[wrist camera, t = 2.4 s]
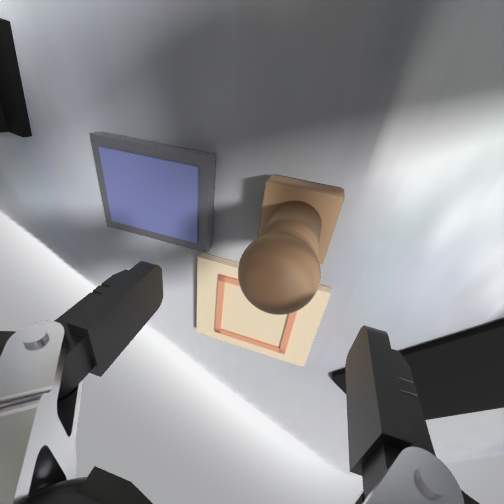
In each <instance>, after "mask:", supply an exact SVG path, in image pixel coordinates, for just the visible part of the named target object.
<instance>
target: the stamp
mask: <svg viewBox="0 0 504 504" xmlns="http://www.w3.org/2000/svg"><path fill="white" fill-rule="evenodd" d="M343 200H344V189H342V188H340V187H335V186H330V185H325V184H320V183H315V182H310V181H305V180H300V179H296V178H291V177H286V176H281V175H276V174H275V175H271V176H270V177H269V179H268V180H267V181H266V185H265V191H264V198H263V205H262V211H261V218H260V224H259V231H258V237H257V239H256V240H254V241H253V242H252V243H251V244H250V245H249V246H248V247H247V248H246V250H245V251H244V253H243V254H242V257H241V259H240V262H239V267H238V280H239V284H240V287H241V290H242V292H243V294H244V296H245V297H246V298H247V300H248V301H249V302H250V303H251V304H252V305H253V306H255V307H256V308H258V309H259V310H261V311H263V312H266V313H269V314H275V315H285V314H290V313H293V312H296V311H298V310H300V309H301V308H303V307H304V306H306V305H307V304H308V303H309V302H310V301H311V300H312V298H313V297H314V295H315V294H316V292H317V289H318V287H319V283H320V276H321V271H320V265H319V263H321V264H323V262H324V259H325V256H326V253H327V250H328V246H329V243H330V240H331V237H332V234H333V231H334V228H335V225H336V222H337V219H338V216H339V213H340V209H341V206H342V203H343Z"/></svg>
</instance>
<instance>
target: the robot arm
mask: <svg viewBox="0 0 504 504" xmlns="http://www.w3.org/2000/svg"><path fill="white" fill-rule="evenodd" d="M162 299H163V282H162V269H161V267H160V266H158V265H154V264H151V263H147V262H144V261H141V262H139V263H138V264H136V265H135V266H134V267H133V268H132V269H130V270H124V271H121V272H119V273H117V274H114V275H112V276H111V277H110V278H108V279H107V280H106V281H105V282H103V283H102V285H101V286H98V287H97V288H96V289H94V290H93V292H92V293H89V294H88V295H87V296H86V297H84V298H83V299H82V300H80V301H79V302H78V303H77V304H75V305H74V306H73V307H72V308H70V309H69V310H68V311H67V312H65V313H64V314H63V315H61V316H60V317H59V318H58V319H56V320H55V321H40V322H36V323H32V324H30V325H27V326H25V327H23V328H21V329H20V330H18V331H17V332H13V331H0V504H152V502H150V500H148V498H147V497H146V496H145V495H144V494H143V493H142V492H141V491H139V490H138V489H137V488H136V487H135V486H134V485H133V484H132V483H131V482H130V481H127V480H125V479H123V478H121V477H118V476H116V475H114V474H111V473H109V472H107V471H105V470H102V469H100V468H97V467H94V468H93V470H92V471H91V473H90V474H89V476H88V477H83V478H76V475H77V455H76V433H77V425H78V418H79V410H80V402H81V394H82V386H83V382H82V380H83V379H84V378H85V376H86V375H87V374H88V373H92V374H94V375H97V376H100V377H101V376H102V374H104V372H105V371H106V370H107V369H108V368H109V366H110V365H111V364H112V363H113V362H114V360H115V359H116V358H117V357H118V356H119V355H120V353H121V352H122V351H123V350H124V349H125V348H126V346H127V345H128V344H129V343H130V341H131V340H132V339H133V338H134V337H135V336H136V334H137V333H138V332H139V331H140V330H141V329H142V327H143V326H144V325H145V324H146V323H147V321H148V320H149V319H150V318H151V317H152V316H153V314H154V313H155V312H156V311H157V310H158V308H159V307H160V305H161V302H162ZM345 372H346V394H347V417H348V440H349V463H350V472H353V473H356V474H358V475H361V476H363V489H364V490H363V491H362V492H361V493H360V494H359V496H358V497H357V499H356V500H355V502H354V503H353V504H479V503H478V502H476V501H475V500H474V499H472V498H471V497H469V496H468V495H467V494H465V493H464V492H463V491H462V490H461V489H460V487H459V484H458V483H457V481H456V479H455V477H454V476H453V475H452V473H451V472H450V471H449V469H448V468H447V467H446V466H445V465H444V463H443V462H442V461H441V460H439V459H438V458H437V457H436V455H435V452H434V449H433V446H432V442H431V439H430V435H429V432H428V428H427V425H426V421H425V418H424V414H423V411H422V407H421V404H420V400H419V398H418V397H417V395H418V393H417V390H416V386H415V385H414V379H413V376H412V372H411V369H410V366H409V364H408V363H407V362H406V360H405V359H404V357H403V356H402V354H401V353H400V351H396V350H393V349H391V346H390V341H389V337H388V334H387V333H386V332H385V331H381V330H378V329H374V328H371V327H367V326H363V327H362V328H361V329H360V331H359V333H358V335H357V337H356V339H355V341H354V343H353V345H352V347H351V349H350V351H349V353H348V356H347V359H346V367H345Z"/></svg>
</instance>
